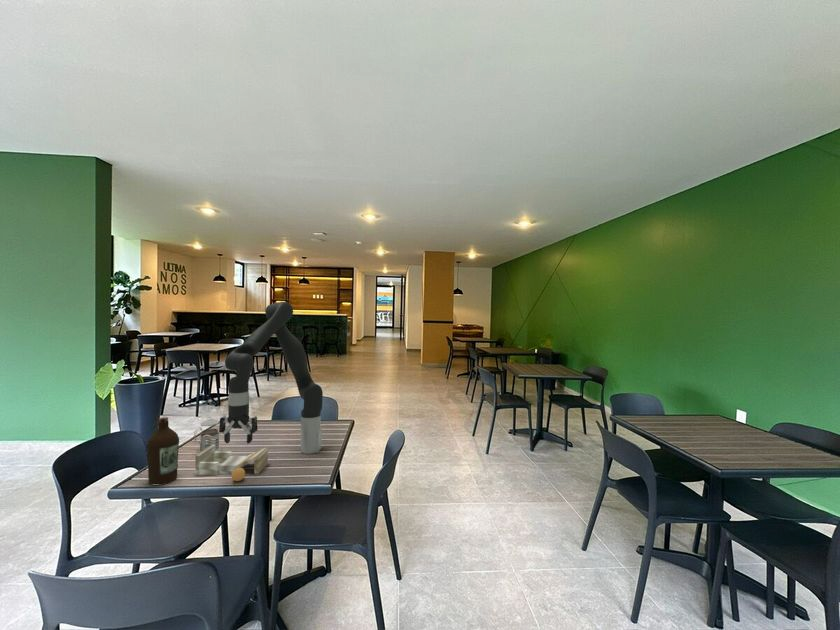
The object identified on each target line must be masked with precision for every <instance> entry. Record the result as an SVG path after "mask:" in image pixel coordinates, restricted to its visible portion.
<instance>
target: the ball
mask: <svg viewBox="0 0 840 630" xmlns="http://www.w3.org/2000/svg"><path fill="white" fill-rule="evenodd" d="M230 475H231V477H230V478H231V479H232V480H233V481H234V482H241V481H242V480H243V479H244V478H245V476H246V471H245V469H244V468H236V469H235V470H234V471H233V472H232V474H230Z"/></svg>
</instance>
